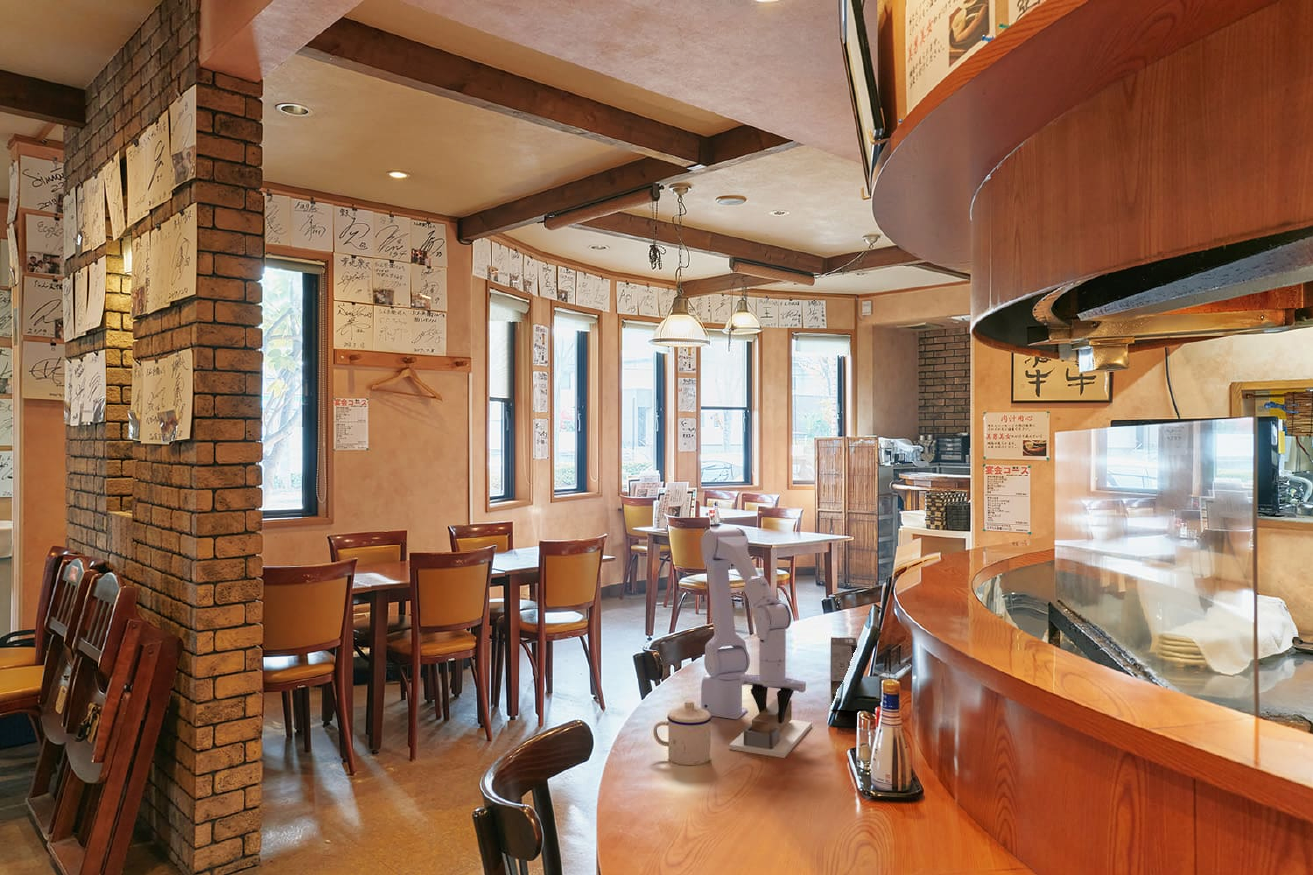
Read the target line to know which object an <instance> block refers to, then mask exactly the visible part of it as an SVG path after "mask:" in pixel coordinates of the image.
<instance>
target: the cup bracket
mask: <svg viewBox="0 0 1313 875" xmlns="http://www.w3.org/2000/svg"><path fill="white" fill-rule="evenodd" d="M812 728H813V722H812V721H811V722H810V721H804V720H798V719H792V720H791V721H790V722H789V723H788V724H787V725H786V726H785V727H784V728H783V729H782V730H781V731H780V727H777V728H776V729H775V730H774V731H773V732H772V733H771V734H768V733H761V732H754V731H752V723H751V724H750V725H748V727H746V728H745V729H744V730H743V731H742V733H740V734H739V735H738V736H737V737H736V738H735V739H734V740H732V741H731V742H730V743H729V744H728V745H729V747H728V749H729V750H733V751H739V752H745V753H750V754H751V753H752V754H757V755H763V756H771V757H776V758H781V759H783V758H784V759H785V758H786V756H787V755H788V754H789V753H790V752H791V751H792V750H793V749H794V748H795V746H797V744H798V743H799V742H800V741H801V740H802V739H803V738H804V736H805V735H806V734H807V731H808V732H809V731H810V730H811V729H812Z"/></svg>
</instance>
